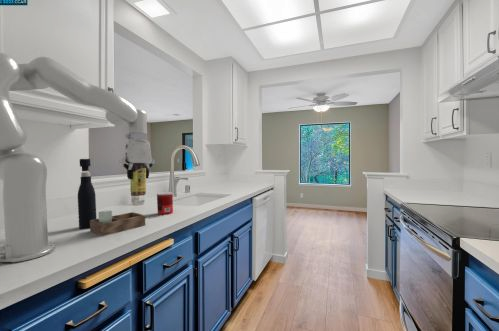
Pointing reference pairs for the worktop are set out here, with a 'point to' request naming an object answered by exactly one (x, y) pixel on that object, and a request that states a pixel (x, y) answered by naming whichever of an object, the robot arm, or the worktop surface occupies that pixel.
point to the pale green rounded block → (105, 217)
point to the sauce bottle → (138, 180)
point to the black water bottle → (86, 197)
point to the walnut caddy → (117, 224)
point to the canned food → (165, 203)
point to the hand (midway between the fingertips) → (138, 178)
